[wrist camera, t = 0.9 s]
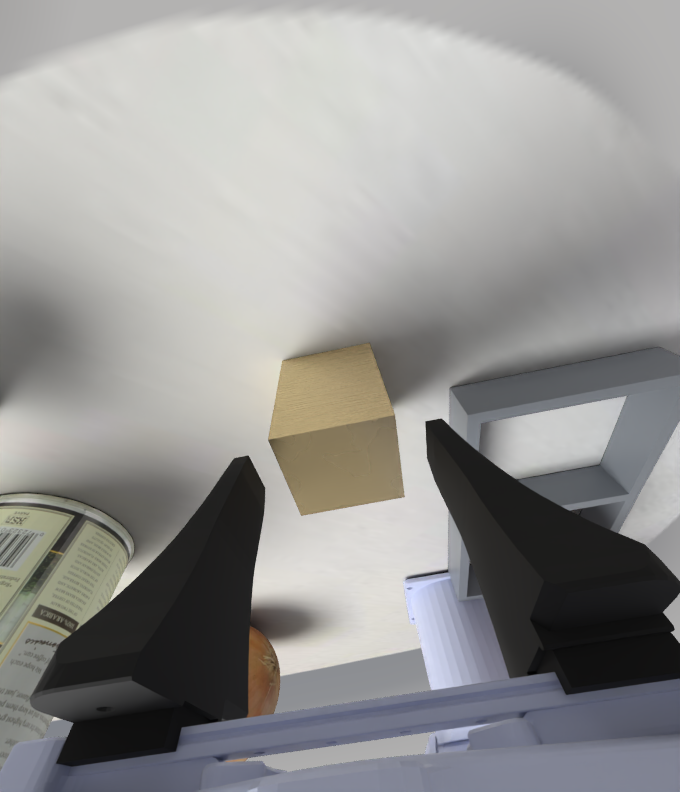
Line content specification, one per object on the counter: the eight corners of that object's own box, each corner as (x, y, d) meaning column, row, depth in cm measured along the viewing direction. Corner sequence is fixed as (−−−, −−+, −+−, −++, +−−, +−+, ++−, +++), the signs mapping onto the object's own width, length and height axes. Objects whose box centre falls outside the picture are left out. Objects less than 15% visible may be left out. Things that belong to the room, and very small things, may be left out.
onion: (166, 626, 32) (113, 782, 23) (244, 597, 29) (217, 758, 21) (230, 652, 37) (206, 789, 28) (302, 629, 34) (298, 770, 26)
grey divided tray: (571, 552, 29) (591, 580, 27) (448, 572, 29) (458, 602, 27) (659, 346, 17) (707, 369, 15) (449, 388, 18) (467, 415, 15)
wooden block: (379, 412, 18) (404, 497, 13) (304, 426, 18) (301, 515, 13) (369, 342, 16) (394, 415, 11) (282, 360, 16) (268, 439, 11)
